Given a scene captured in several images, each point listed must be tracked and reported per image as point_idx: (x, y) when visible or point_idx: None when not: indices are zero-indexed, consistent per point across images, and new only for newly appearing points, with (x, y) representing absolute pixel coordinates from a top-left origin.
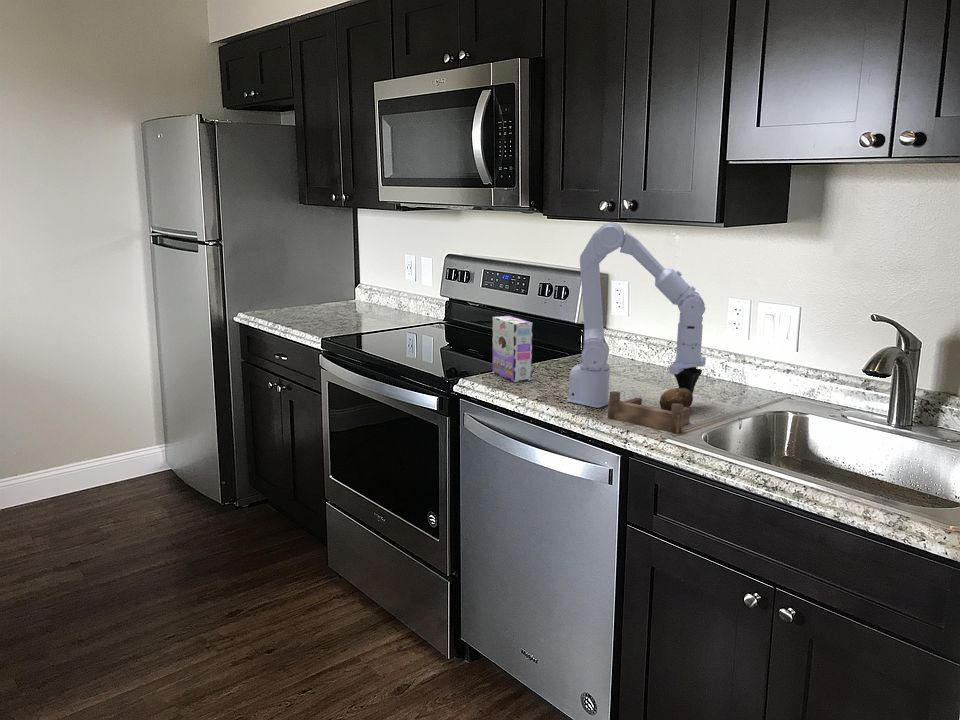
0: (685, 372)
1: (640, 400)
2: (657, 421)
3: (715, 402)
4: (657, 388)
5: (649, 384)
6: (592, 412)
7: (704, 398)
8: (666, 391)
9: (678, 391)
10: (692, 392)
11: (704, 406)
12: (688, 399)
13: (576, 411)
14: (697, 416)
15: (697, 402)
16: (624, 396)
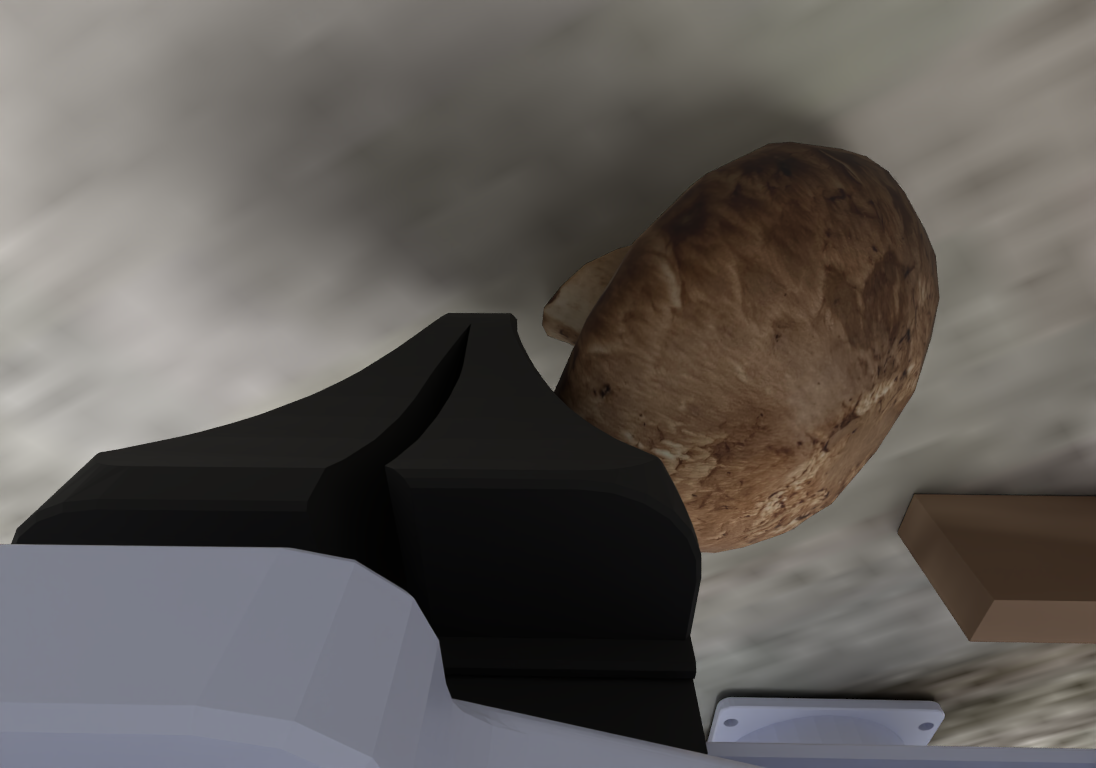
0: (685, 666)
1: (1012, 587)
2: None
3: (16, 170)
4: None
5: None
6: (1046, 683)
7: (20, 336)
8: (771, 535)
9: (859, 401)
10: (432, 332)
11: (277, 182)
12: (864, 185)
13: (1057, 734)
14: (758, 11)
15: (211, 316)
16: None
